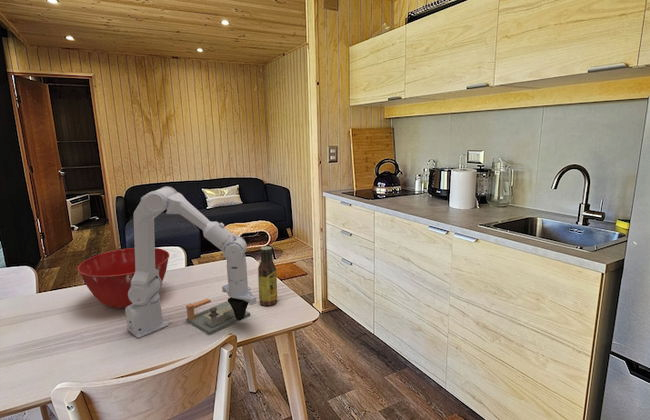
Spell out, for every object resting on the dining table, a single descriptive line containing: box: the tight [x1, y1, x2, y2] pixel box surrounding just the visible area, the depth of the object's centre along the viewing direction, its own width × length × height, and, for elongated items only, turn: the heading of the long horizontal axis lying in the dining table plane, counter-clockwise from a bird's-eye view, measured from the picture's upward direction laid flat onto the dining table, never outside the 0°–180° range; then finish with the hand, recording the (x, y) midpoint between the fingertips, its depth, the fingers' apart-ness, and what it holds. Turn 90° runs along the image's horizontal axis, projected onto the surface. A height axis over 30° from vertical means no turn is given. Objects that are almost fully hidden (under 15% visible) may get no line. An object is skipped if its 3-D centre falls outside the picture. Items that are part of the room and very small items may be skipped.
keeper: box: [185, 298, 212, 320], centre depth 119 cm, size 8×2×5 cm, turn 139°
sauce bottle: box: [257, 246, 278, 307], centre depth 127 cm, size 6×6×20 cm
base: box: [185, 300, 251, 336], centre depth 118 cm, size 15×13×6 cm
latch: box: [203, 305, 235, 327], centre depth 117 cm, size 12×4×2 cm, turn 139°
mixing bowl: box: [77, 247, 170, 310], centre depth 131 cm, size 28×28×15 cm
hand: (240, 319), depth 114 cm, fingers closed
